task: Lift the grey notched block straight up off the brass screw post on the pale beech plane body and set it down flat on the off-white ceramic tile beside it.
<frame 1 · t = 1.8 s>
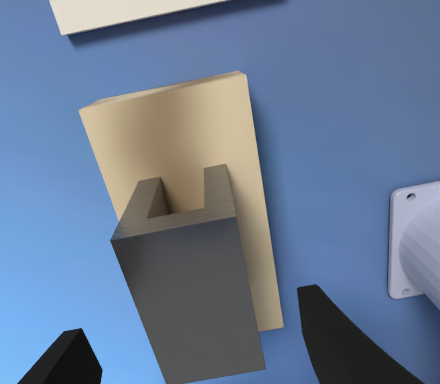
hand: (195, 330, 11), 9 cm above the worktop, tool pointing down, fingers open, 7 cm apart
grey notched block: (198, 237, 16), point 3 cm above the worktop, touching plane body
plane body: (199, 209, 19), on the worktop
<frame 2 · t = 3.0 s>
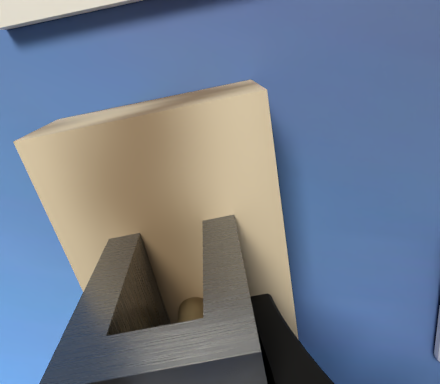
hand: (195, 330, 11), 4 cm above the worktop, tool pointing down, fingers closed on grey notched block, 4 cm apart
grey notched block: (195, 310, 12), point 3 cm above the worktop, touching gripper, plane body
plane body: (196, 260, 14), on the worktop
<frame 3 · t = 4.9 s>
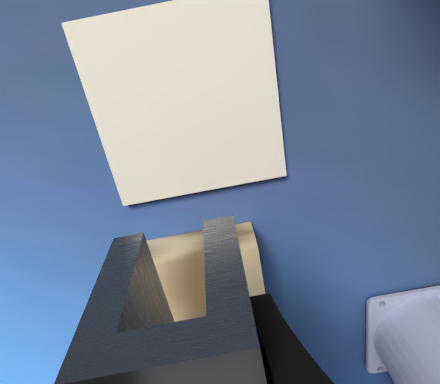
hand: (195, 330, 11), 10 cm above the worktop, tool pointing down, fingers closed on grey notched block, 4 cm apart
tile: (186, 105, 18), on the worktop
grey notched block: (196, 304, 12), point 9 cm above the worktop, touching gripper
plane body: (217, 311, 24), on the worktop
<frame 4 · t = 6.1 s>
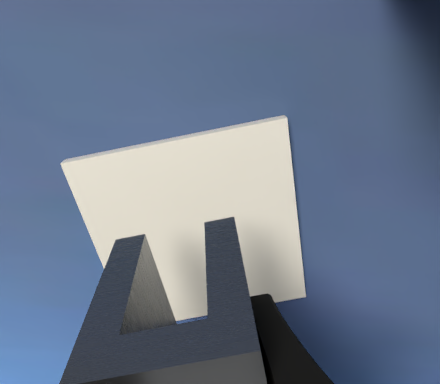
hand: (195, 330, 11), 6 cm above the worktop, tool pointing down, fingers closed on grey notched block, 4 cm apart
tile: (197, 231, 17), on the worktop
grey notched block: (197, 304, 12), point 5 cm above the worktop, touching gripper
when the fingers open (3 cm above the worktop, at t = 7.1 s): grey notched block stays where it is, resting on tile.
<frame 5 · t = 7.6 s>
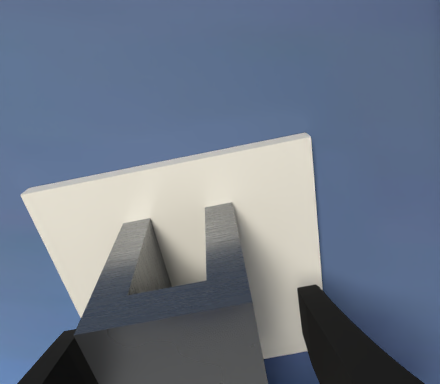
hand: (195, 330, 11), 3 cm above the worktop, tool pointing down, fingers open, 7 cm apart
tile: (196, 272, 14), on the worktop
grey notched block: (198, 288, 13), point 1 cm above the worktop, touching tile
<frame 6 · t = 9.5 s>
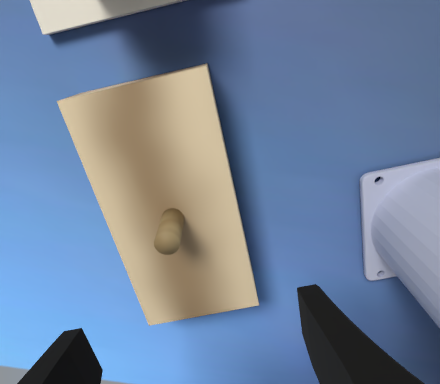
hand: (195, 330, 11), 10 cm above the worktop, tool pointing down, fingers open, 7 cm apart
plane body: (178, 195, 20), on the worktop
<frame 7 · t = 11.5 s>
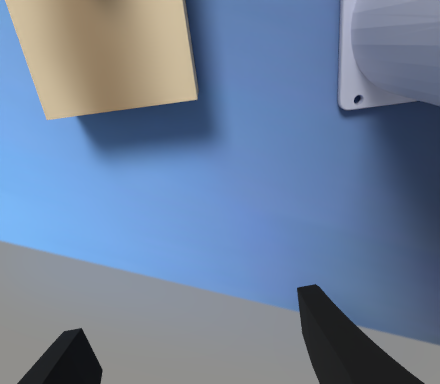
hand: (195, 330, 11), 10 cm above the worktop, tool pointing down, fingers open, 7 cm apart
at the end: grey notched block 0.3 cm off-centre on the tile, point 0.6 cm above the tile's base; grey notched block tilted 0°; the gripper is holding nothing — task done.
